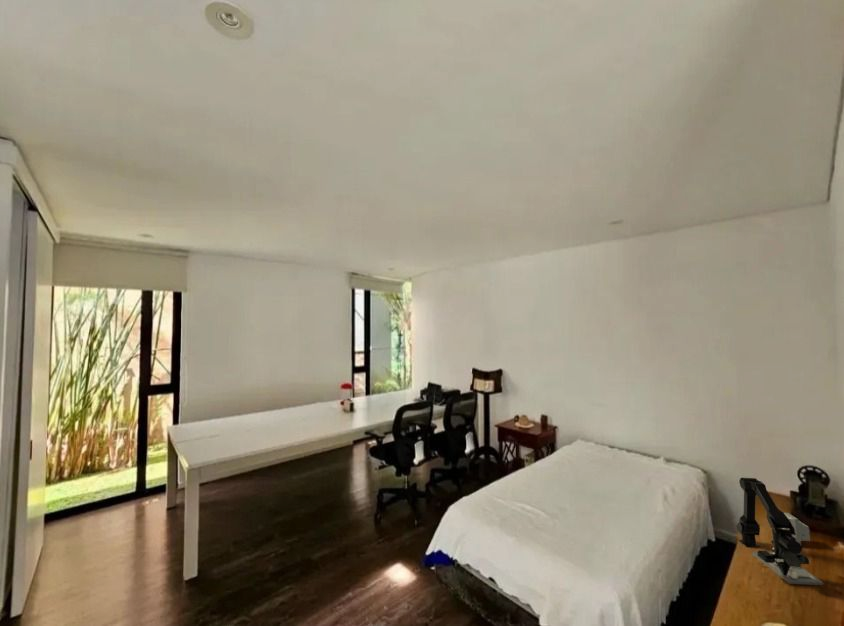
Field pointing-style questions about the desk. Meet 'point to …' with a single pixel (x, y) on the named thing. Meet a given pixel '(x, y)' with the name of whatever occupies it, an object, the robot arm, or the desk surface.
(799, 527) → the circuit breaker
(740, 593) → the desk surface
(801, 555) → the robot arm
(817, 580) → the plate
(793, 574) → the handle
